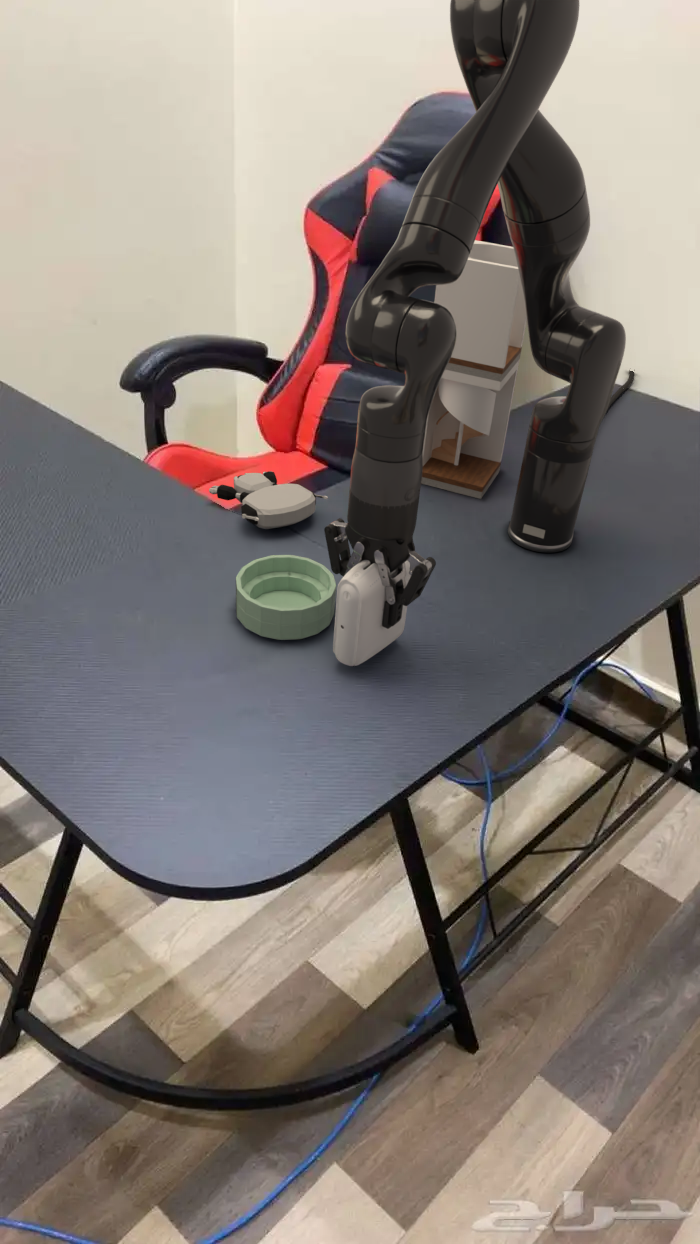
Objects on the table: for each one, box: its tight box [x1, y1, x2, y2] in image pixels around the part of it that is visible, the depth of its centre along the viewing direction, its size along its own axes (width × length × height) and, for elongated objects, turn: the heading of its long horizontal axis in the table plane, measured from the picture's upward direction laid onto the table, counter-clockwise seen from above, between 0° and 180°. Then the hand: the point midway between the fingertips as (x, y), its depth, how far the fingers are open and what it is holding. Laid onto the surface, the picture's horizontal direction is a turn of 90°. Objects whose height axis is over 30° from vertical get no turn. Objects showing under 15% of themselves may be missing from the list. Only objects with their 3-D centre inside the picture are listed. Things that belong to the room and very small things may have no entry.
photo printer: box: [332, 560, 411, 667], centre depth 110 cm, size 10×4×12 cm, turn 140°
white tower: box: [421, 239, 527, 500], centre depth 143 cm, size 11×11×35 cm
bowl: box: [235, 554, 337, 641], centre depth 118 cm, size 12×12×5 cm
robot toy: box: [208, 470, 329, 530], centre depth 139 cm, size 12×4×15 cm
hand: (371, 615), depth 111 cm, fingers closed on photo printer, 4 cm apart
